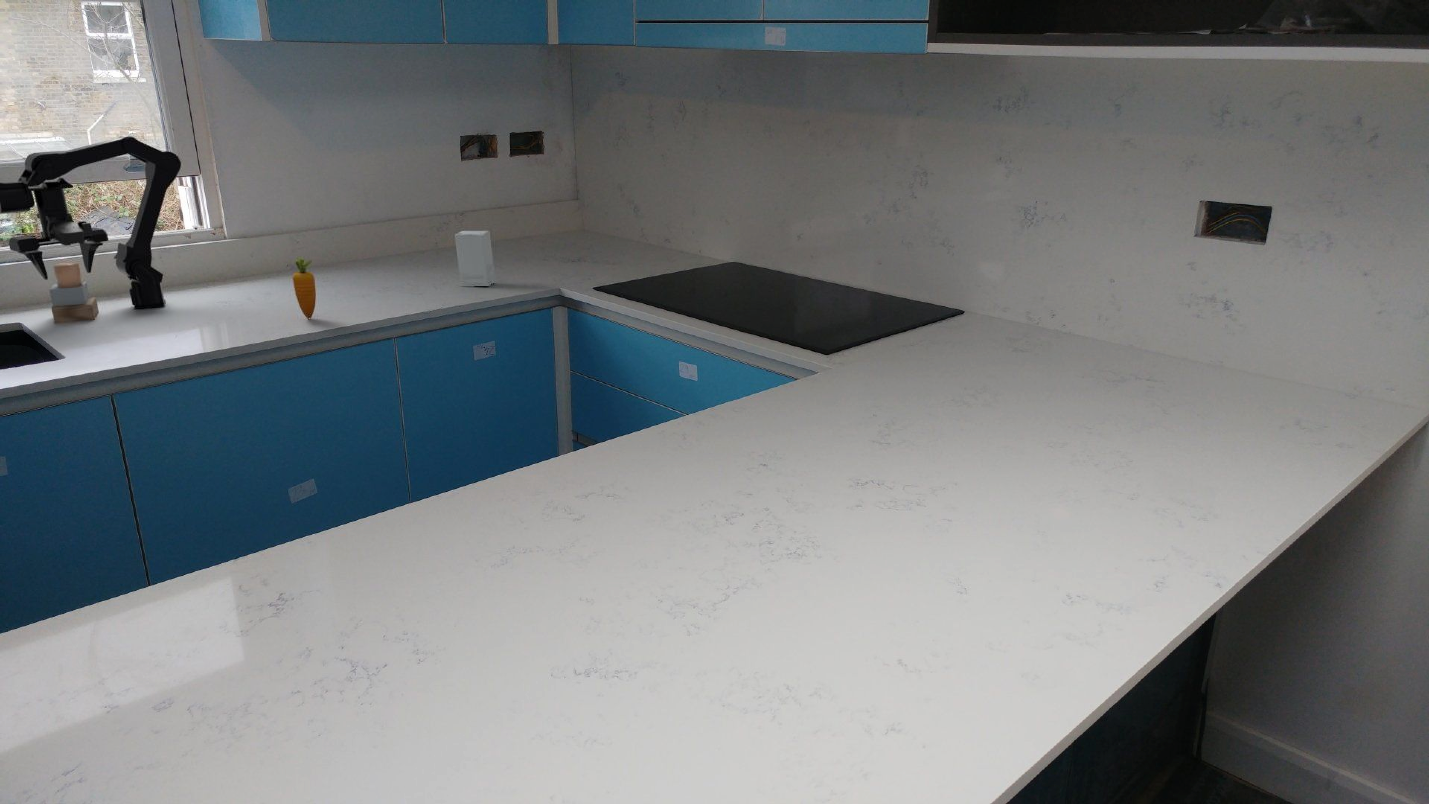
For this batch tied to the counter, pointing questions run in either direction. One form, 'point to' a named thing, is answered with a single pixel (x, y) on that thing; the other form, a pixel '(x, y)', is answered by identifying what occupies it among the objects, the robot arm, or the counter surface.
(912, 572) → the counter surface
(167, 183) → the robot arm
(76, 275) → the terracotta cylinder
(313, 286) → the carrot
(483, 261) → the skincare box
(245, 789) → the counter surface
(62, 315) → the walnut slab
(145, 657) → the counter surface
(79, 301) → the slate slab
